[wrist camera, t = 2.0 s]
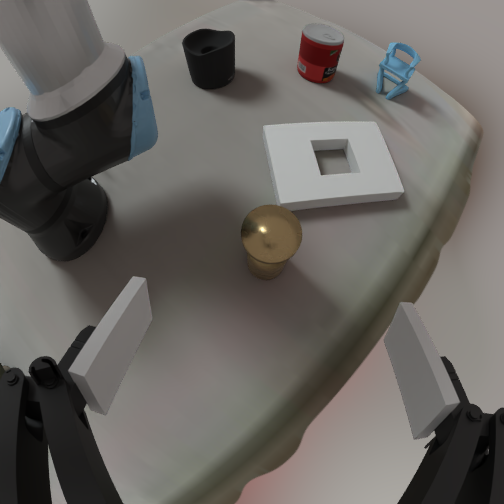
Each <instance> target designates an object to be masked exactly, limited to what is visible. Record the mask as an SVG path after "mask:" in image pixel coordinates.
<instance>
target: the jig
mask: <svg viewBox="0 0 504 504" xmlns="http://www.w3.org/2000/svg"><path fill="white" fill-rule="evenodd" d="M263 140H264V145H265V149H266V154H267V159H268V163H269V168H270V173H271V178H272V183H273V187H274V192H275V197H276V202H277V205H278V206H281V207H284V208H286V209H288V210H289V211H294V210H302V209H310V208H319V207H328V206H337V205H347V204H356V203H366V202H377V201H388V200H397V199H398V198H399V197H400V196H401V195H402V194H403V193H404V192H405V191H404V189H403V186H402V183H401V180H400V178H399V175H398V173H397V170H396V167H395V165H394V162H393V160H392V158H391V155H390V153H389V150H388V148H387V146H386V143H385V141H384V139H383V137H382V134H381V132H380V130H379V128H378V126H377V123H376V122H310V123H292V124H278V125H266V126H263ZM336 149H344V152H345V154H346V157H347V160H348V163H349V166H350V169H351V172H352V173H346V174H333V175H321V174H320V170H319V167H318V164H317V160H316V157H315V154H314V151H318V150H336Z"/></svg>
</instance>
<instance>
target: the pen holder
mask: <svg viewBox="0 0 504 504" xmlns="http://www.w3.org/2000/svg"><path fill="white" fill-rule="evenodd" d="M182 44H183V48H184V52H185V56H186V60H187V64H188V68H189V71H190V75H191V78H192V81H193V83H194V84H195V85H197V86H198V87H201V88H205V89H215V88H220V87H222V86H225V85H227V84H228V83H229V82H230V81H231V80H232V79H233V78H234V74H235V35H234V33H233V32H231V31H216V30H212V29H199V30H196V31H194V32H192V33H190V34H188V35H187V36H186V37H185V38H184V40H183V42H182Z"/></svg>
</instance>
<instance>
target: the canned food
mask: <svg viewBox="0 0 504 504" xmlns="http://www.w3.org/2000/svg"><path fill="white" fill-rule="evenodd" d="M343 43H344V35H343V34H342V33H341V32H340V31H338V30H337V29H335V28H333V27H330V26H327V25H324V24H308V25H305V26H304V27H303V31H302V37H301V44H300V51H299V58H298V65H297V68H298V72H299V74H300V75H301V76H302V77H303V78H305V79H307V80H309V81H311V82H315V83H327V82H329V81H331V80H332V79H333V77H334V75H335V72H336V68H337V65H338V61H339V58H340V54H341V51H342V47H343Z"/></svg>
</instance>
